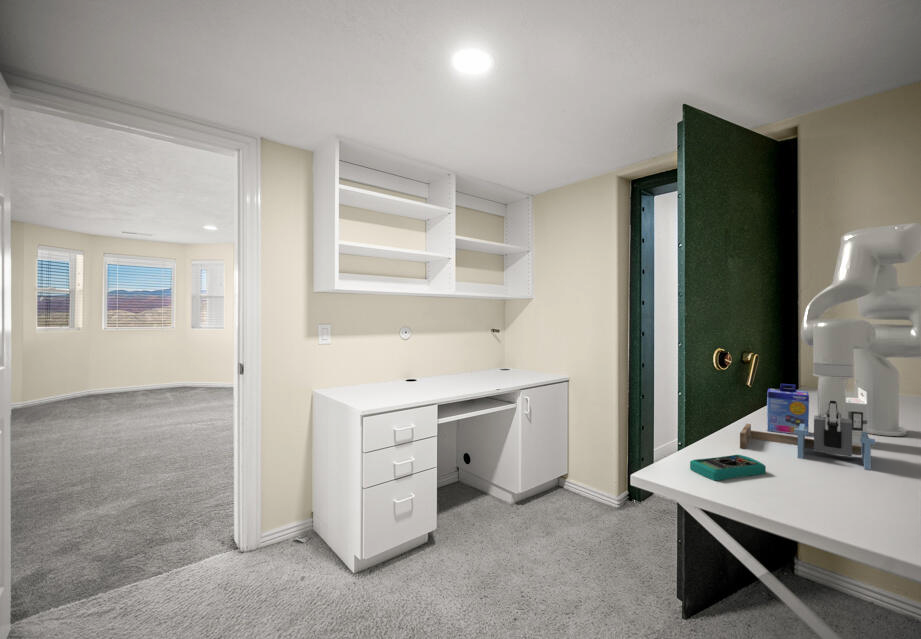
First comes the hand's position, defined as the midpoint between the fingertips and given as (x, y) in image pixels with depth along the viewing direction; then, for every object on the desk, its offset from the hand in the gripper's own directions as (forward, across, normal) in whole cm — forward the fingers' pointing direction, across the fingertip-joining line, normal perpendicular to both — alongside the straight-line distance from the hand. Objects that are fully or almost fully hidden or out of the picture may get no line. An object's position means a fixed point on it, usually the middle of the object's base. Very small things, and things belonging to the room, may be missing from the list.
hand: (832, 443), depth 106 cm
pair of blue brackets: (+3, 0, 0) cm, 3 cm away
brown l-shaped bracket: (+3, 0, -6) cm, 7 cm away
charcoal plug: (+2, 0, 0) cm, 2 cm away
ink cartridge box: (+4, -20, -10) cm, 23 cm away
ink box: (+4, -18, +4) cm, 19 cm away
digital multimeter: (+4, +27, -18) cm, 33 cm away
